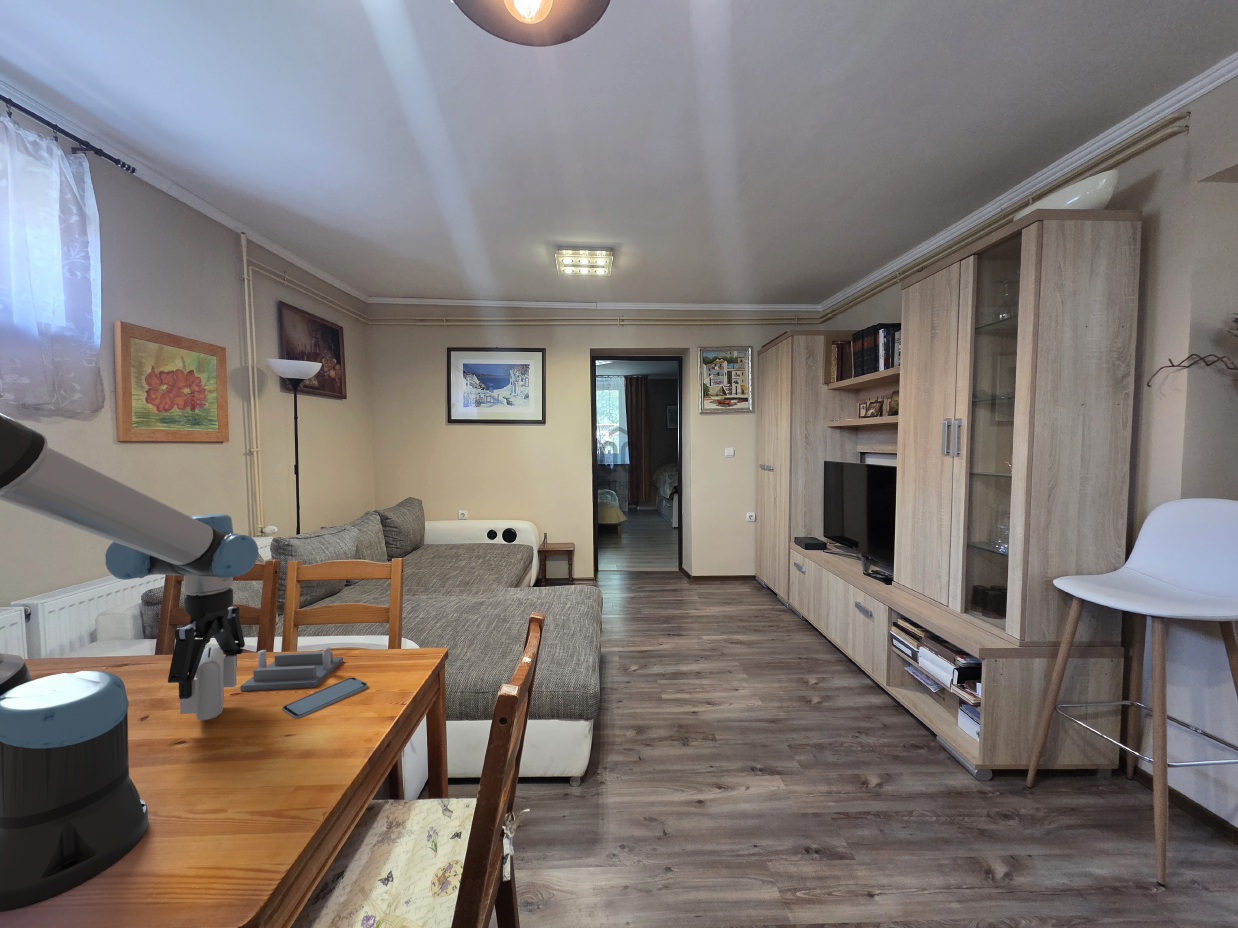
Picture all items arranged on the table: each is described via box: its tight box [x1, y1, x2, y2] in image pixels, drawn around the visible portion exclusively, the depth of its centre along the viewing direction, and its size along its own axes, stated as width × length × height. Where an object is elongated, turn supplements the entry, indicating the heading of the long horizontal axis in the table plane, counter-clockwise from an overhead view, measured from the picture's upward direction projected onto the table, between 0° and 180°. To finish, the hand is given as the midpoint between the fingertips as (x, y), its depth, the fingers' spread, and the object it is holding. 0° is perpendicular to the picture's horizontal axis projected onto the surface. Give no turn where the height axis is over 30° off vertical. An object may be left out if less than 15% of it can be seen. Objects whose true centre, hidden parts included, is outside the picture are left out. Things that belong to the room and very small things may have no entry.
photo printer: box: [195, 645, 225, 721], centre depth 95 cm, size 10×4×12 cm, turn 39°
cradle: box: [239, 646, 344, 692], centre depth 112 cm, size 13×16×6 cm
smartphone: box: [281, 676, 368, 719], centre depth 102 cm, size 7×1×15 cm
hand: (210, 698), depth 95 cm, fingers closed on photo printer, 10 cm apart
